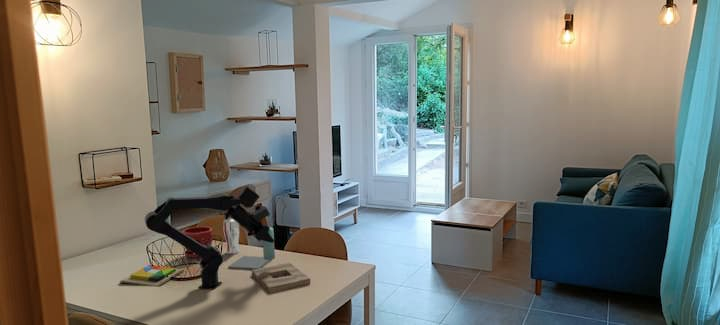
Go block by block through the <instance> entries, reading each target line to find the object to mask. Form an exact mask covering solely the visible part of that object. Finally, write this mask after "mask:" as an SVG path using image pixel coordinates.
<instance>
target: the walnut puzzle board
mask: <svg viewBox="0 0 720 325" xmlns="http://www.w3.org/2000/svg"><path fill="white" fill-rule="evenodd" d="M251 275H252V277H254V278H255V279H256V281H258V283H259V284H260V285H261V286H262V287H264V289H265V290H266V291H267V292H268V293H275V292H279V291H285V290H288V289H294V288H296V287H301V286H305V285H311V278H310V277H309V276H307V275H306V274H305V273H304V272H302V271H301V270H300V269H298V268H297V267H296V266H295V265H293V263H291V262H285V263H279V264H276V265H275V264H274V265H270V266H266V267H265V266H264V267H262V268H259V269H255V270H251ZM285 275H286V276H285ZM280 276H282V277H280Z"/></svg>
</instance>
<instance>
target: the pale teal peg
mask: <svg viewBox="0 0 720 325" xmlns="http://www.w3.org/2000/svg"><path fill="white" fill-rule="evenodd" d="M268 227H269V226H268ZM269 228H270V230H269V231H268V233H269V234H270V236H271V237H272V238H273V240H274V242H273V243H271V242H267V241H263V240H262V246H263V247H262V251H263V253H262V254H263V257H264V259H265V260H271V261H272V260H274V259H275V258H276V255H275V254H276V253H275V232H274V231H275V230H274V227H269Z"/></svg>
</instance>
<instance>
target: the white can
mask: <svg viewBox="0 0 720 325" xmlns="http://www.w3.org/2000/svg"><path fill="white" fill-rule="evenodd" d="M223 235H224V239H225V243H226V252H225V253H226V254H228V255H234V254H235V255H236V254H238V253H240V251H241V250H240V246H239V240H240V224H239V223H237V222H236V221H235V220H233V219H232V218H228V219H227V220H225V219H224V220H223Z"/></svg>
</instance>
